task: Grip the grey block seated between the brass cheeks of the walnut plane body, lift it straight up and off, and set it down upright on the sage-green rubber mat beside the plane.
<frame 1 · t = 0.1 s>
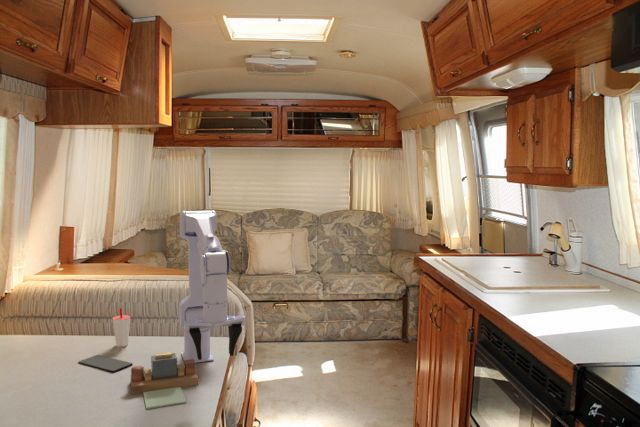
hand: (215, 356, 124), 10 cm above the table, fingers open, 7 cm apart
grey block: (164, 375, 132), point 2 cm above the table, touching plane body
smartphone: (105, 366, 145), on the table
plane body: (164, 383, 133), on the table
mat: (164, 398, 124), on the table
cup: (122, 345, 161), on the table
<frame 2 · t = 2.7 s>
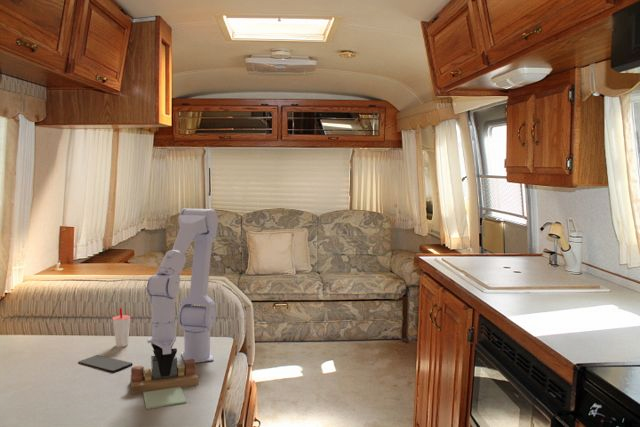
hand: (164, 372, 132), 3 cm above the table, fingers closed on grey block, 4 cm apart
grey block: (164, 375, 132), point 2 cm above the table, touching gripper, plane body
everything else where it was.
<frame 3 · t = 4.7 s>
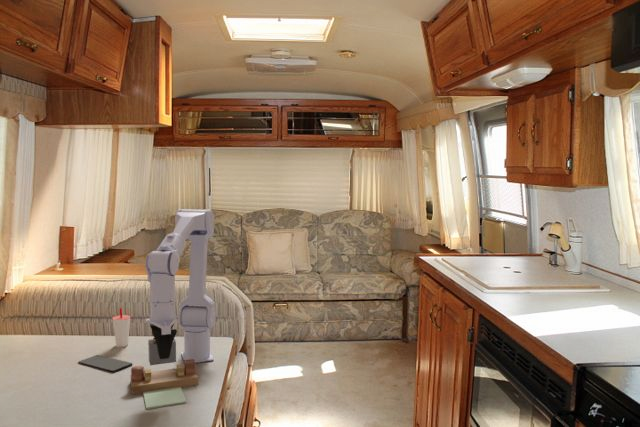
hand: (163, 355, 125), 10 cm above the table, fingers closed on grey block, 4 cm apart
grey block: (162, 360, 125), point 9 cm above the table, touching gripper
everything else where it was.
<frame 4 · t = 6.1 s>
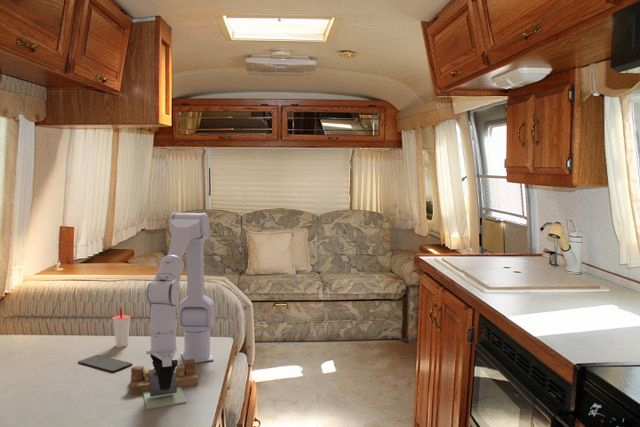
hand: (164, 385, 124), 3 cm above the table, fingers closed on grey block, 4 cm apart
grey block: (162, 391, 124), point 2 cm above the table, touching gripper
everything else where it was.
when the fingers open (3 cm above the table, at t = 7.0 s): grey block drops 1 cm, resting on mat.
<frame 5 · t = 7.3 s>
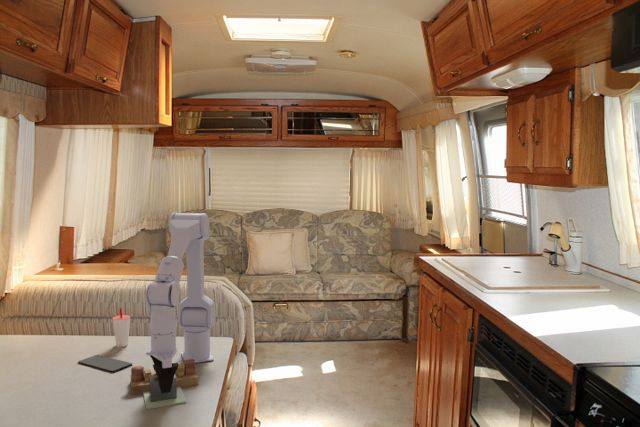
hand: (164, 386, 124), 3 cm above the table, fingers open, 6 cm apart
grey block: (162, 396, 124), resting on mat
everything else where it was.
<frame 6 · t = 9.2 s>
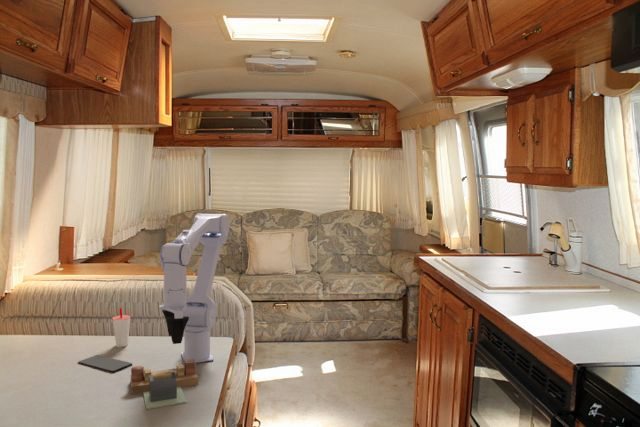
hand: (174, 339, 136), 10 cm above the table, fingers open, 7 cm apart
nothing on the table moved.
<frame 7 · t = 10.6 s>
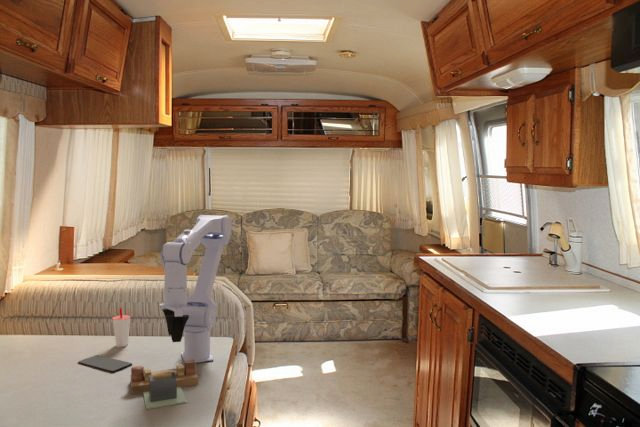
hand: (174, 338, 136), 10 cm above the table, fingers open, 7 cm apart
nothing on the table moved.
at the end: grey block 0.3 cm off-centre on the mat, point 0.4 cm above the mat's base; grey block tilted 0°; the gripper is holding nothing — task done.
